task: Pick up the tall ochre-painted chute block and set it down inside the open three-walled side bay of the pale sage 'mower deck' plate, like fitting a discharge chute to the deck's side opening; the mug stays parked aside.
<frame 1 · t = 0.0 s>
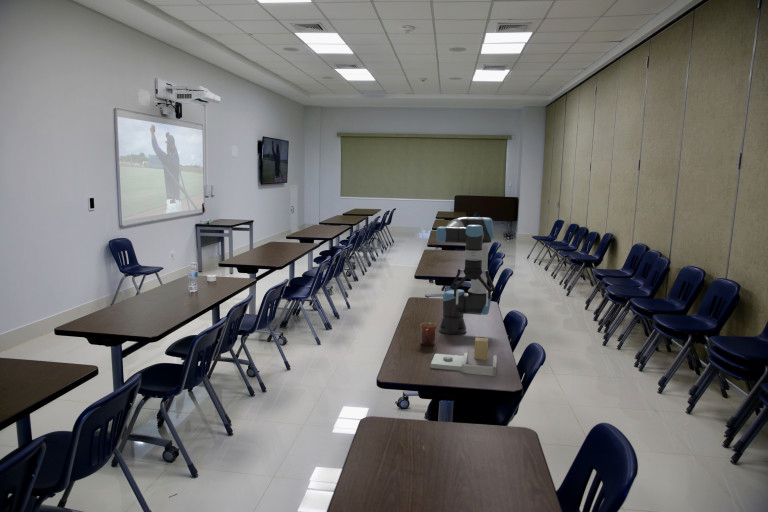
hand: (471, 304, 231), 28 cm above the table, fingers open, 13 cm apart
deck: (461, 365, 232), on the table
mug: (427, 345, 261), on the table
chute block: (481, 357, 243), on the table
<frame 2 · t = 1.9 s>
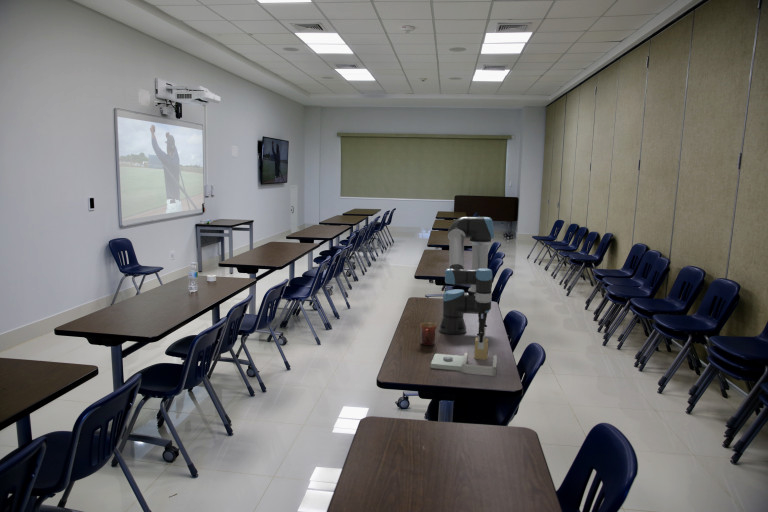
hand: (481, 344, 242), 7 cm above the table, fingers open, 13 cm apart
nothing on the table moved.
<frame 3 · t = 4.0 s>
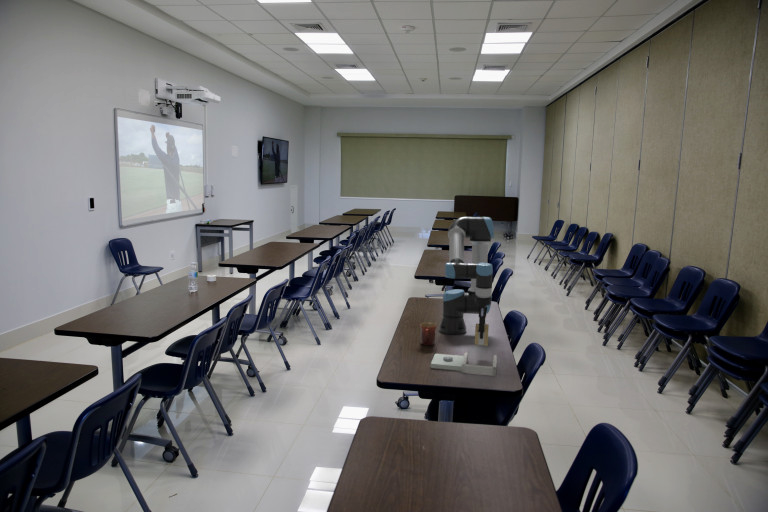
hand: (481, 342, 242), 7 cm above the table, fingers closed on chute block, 5 cm apart
chute block: (481, 343, 243), point 7 cm above the table, touching gripper
everything else where it was.
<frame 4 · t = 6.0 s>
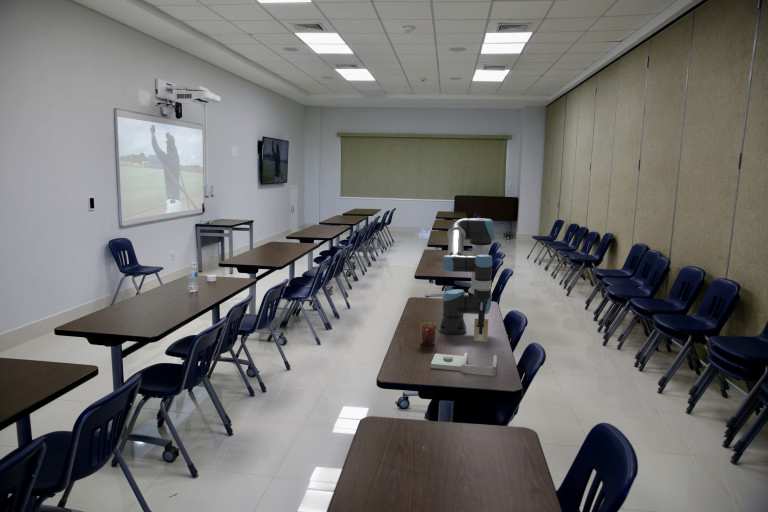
hand: (480, 338, 230), 13 cm above the table, fingers closed on chute block, 5 cm apart
chute block: (480, 339, 230), point 12 cm above the table, touching gripper
everything else where it was.
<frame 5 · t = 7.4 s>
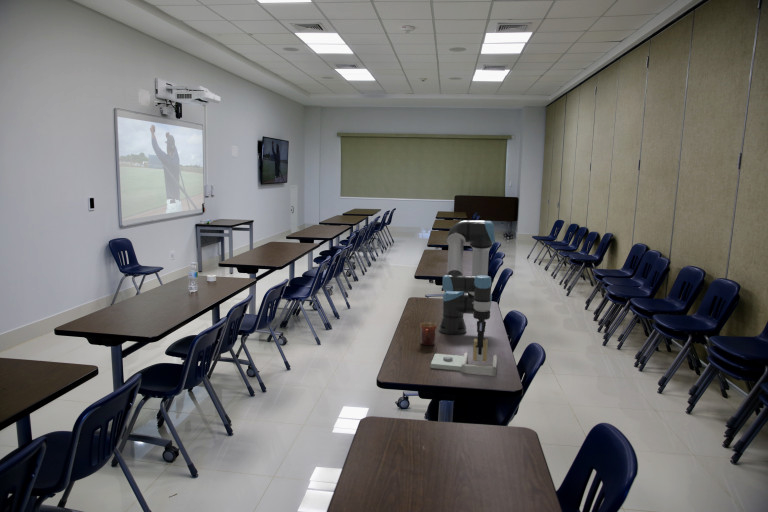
hand: (480, 358, 232), 3 cm above the table, fingers closed on chute block, 5 cm apart
chute block: (479, 359, 232), point 3 cm above the table, touching gripper
everything else where it was.
when the fingers open (1 cm above the table, at t = 8.2 s): chute block stays where it is, on the table.
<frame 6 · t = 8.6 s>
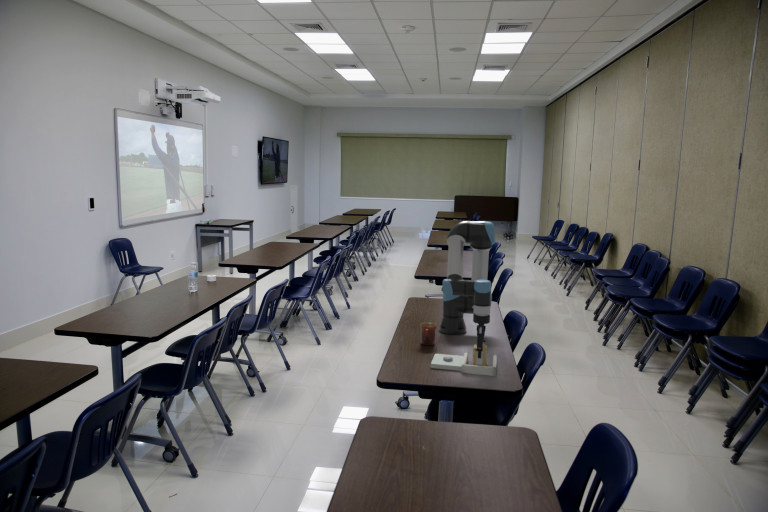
hand: (479, 360, 232), 2 cm above the table, fingers open, 11 cm apart
chute block: (479, 365, 232), on the table
everything else where it was.
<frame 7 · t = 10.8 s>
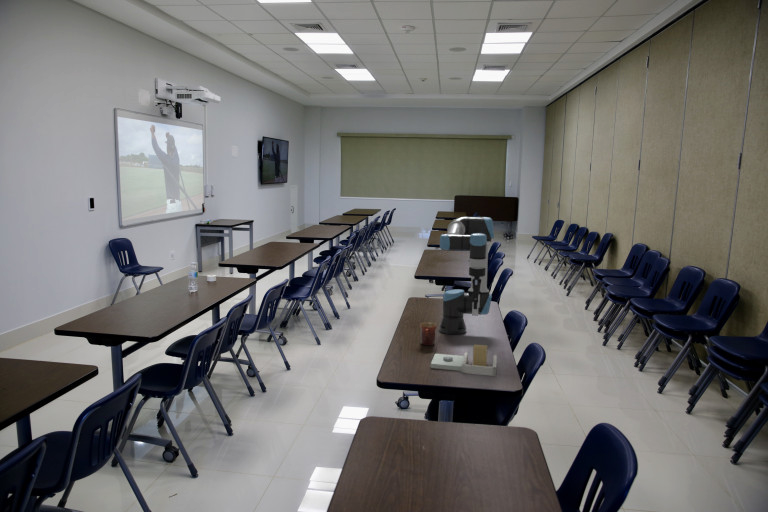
hand: (475, 311, 237), 24 cm above the table, fingers open, 13 cm apart
nothing on the table moved.
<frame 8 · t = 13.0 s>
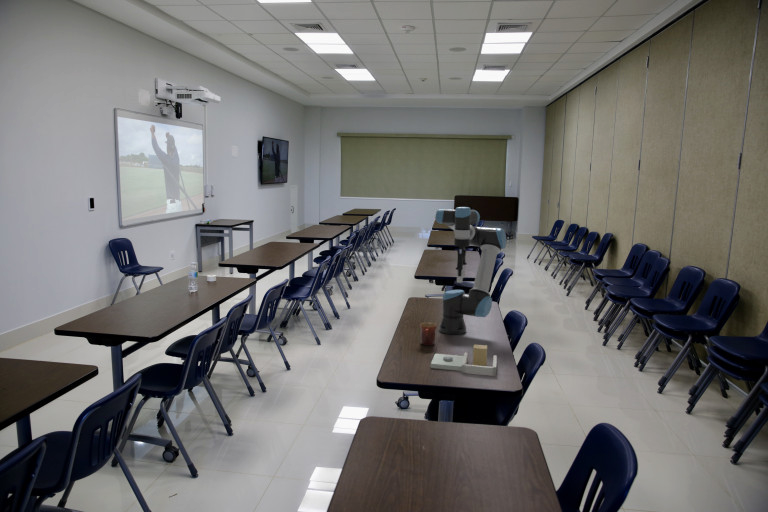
hand: (460, 280, 254), 35 cm above the table, fingers open, 13 cm apart
nothing on the table moved.
at the end: chute block inside the target area (2.0 cm from its centre), on the table; chute block tilted 0°; the gripper is holding nothing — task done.
